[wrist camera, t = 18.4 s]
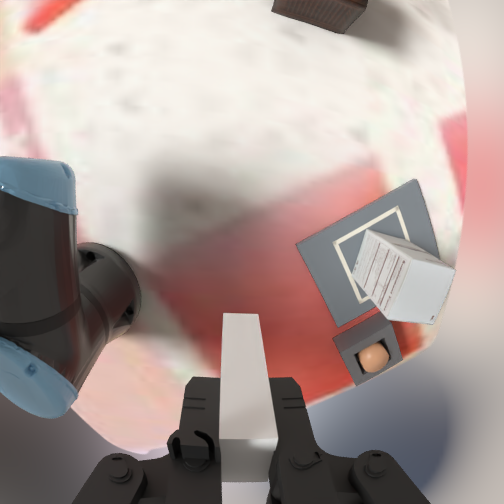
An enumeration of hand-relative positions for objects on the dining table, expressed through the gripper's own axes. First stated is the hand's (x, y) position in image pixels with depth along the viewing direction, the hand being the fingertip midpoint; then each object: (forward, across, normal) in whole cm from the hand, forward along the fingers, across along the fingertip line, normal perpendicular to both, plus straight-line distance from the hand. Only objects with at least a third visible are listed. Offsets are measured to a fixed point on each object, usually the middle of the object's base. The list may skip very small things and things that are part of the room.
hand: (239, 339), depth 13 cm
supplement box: (+25, +20, -4) cm, 33 cm away
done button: (+25, +22, -20) cm, 39 cm away
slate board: (+26, +21, -4) cm, 34 cm away
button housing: (+26, +22, -20) cm, 40 cm away
